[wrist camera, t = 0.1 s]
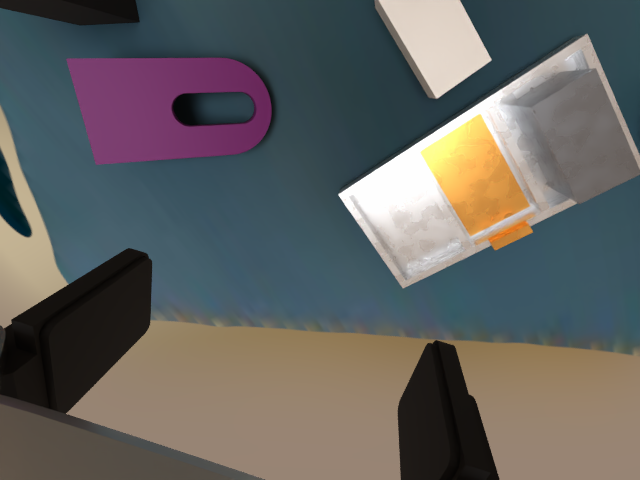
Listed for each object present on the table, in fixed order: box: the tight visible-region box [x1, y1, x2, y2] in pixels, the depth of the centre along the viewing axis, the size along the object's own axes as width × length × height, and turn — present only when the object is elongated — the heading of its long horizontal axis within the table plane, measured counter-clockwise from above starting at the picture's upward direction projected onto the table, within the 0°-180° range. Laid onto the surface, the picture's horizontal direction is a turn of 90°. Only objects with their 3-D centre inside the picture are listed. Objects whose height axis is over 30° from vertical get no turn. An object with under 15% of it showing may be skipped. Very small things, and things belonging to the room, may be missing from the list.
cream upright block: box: [375, 0, 491, 99], centre depth 31 cm, size 10×5×6 cm, turn 37°
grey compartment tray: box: [338, 34, 640, 288], centre depth 35 cm, size 26×14×6 cm, turn 126°
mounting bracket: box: [67, 58, 272, 165], centre depth 39 cm, size 9×8×18 cm
